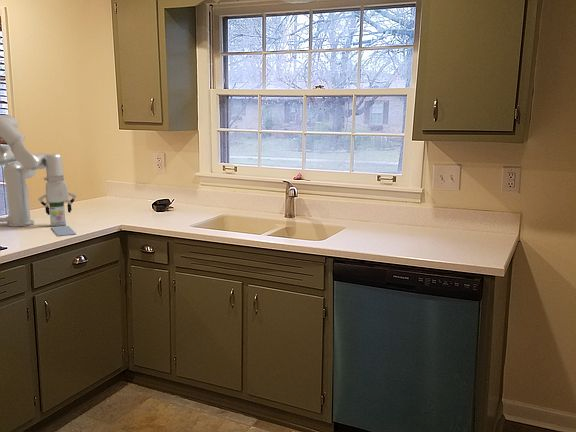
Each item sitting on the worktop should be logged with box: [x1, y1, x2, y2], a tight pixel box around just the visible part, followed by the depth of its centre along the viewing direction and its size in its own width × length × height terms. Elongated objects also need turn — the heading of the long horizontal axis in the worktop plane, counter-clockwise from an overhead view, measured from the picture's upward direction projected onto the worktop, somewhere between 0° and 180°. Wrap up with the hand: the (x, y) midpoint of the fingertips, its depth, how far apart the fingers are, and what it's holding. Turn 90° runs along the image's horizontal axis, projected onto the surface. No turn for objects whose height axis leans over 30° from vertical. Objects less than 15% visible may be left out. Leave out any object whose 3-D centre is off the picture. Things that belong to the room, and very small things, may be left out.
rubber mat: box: [50, 225, 77, 237], centre depth 257 cm, size 8×20×1 cm, turn 31°
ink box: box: [48, 202, 67, 228], centre depth 268 cm, size 7×4×13 cm, turn 114°
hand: (59, 213), depth 268 cm, fingers open, 9 cm apart
